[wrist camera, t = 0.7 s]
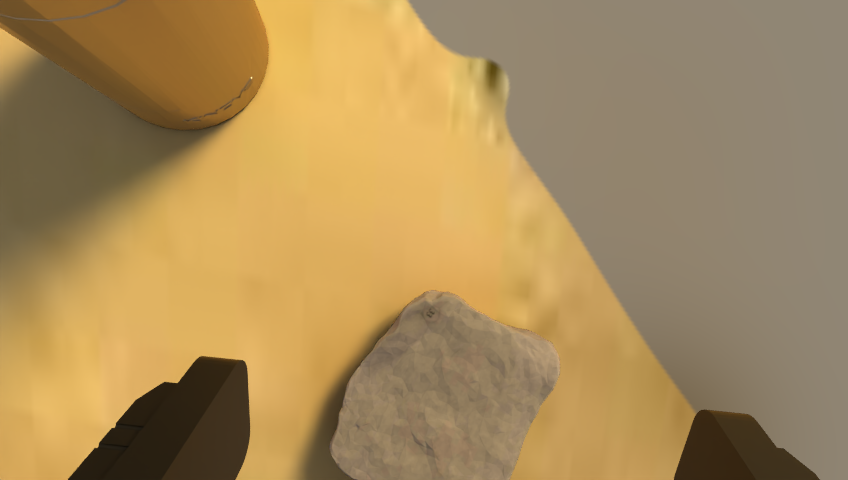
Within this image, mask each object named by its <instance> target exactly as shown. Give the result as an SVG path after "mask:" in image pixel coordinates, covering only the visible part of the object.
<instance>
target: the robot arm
mask: <svg viewBox="0 0 848 480" xmlns="http://www.w3.org/2000/svg"><path fill="white" fill-rule="evenodd" d="M0 28H1V29H3V30H5V31H6V32H8V33H9V34H11V35H12V36H14V37H15V38H17V39H19V40H20V41H22V42H23V43H25V44H26V45H28V46H29V47H31V48H33V49H34V50H36V51H37V52H39V53H40V54H42V55H43V56H45V57H47V58H48V59H50V60H51V61H53V62H54V63H56V64H57V65H59V66H60V67H62V68H64V69H65V70H67V71H68V72H70V73H71V74H73V75H74V76H76V77H78V78H79V79H81V80H82V81H84V82H85V83H87V84H88V85H90V86H92V87H93V88H95V89H96V90H98V91H99V92H101V93H102V94H104V95H105V96H107V97H108V98H110V99H111V100H113V101H114V102H116V103H118V104H119V105H121V106H122V107H124V108H126V109H127V110H129V111H130V112H132V113H134V114H135V115H137V116H139V117H140V118H142V119H143V120H145V121H147V122H150V123H153V124H156V125H158V126H161V127H164V128H171V129H178V130H191V129H202V128H206V127H210V126H213V125H217V124H219V123H221V122H223V121H225V120H227V119H229V118H231V117H233V116H234V115H236V114H237V113H238V112H239V111H241V110H242V109H243V108H244V107H246V106H247V104H248V103H249V102H250V101H251V99H252V98H253V97H254V96H255V94H256V93H257V91H258V89H259V87H260V85H261V83H262V81H263V79H264V77H265V73H266V69H267V64H268V40H267V35H266V30H265V27H264V24H263V21H262V19H261V16H260V14H259V11H258V9H257V6H256V3H255V1H254V0H0ZM249 437H250V416H249V394H248V373H247V366H246V363H245V362H244V361H243V360H234V359H225V358H215V357H206V356H201V357H199V358H198V359H197V360H196V361H195V362H194V363H193V364H192V366H191V367H190V368H189V369H188V371H187V372H186V373H185V375H184V376H183V377H182V378H181V380H180V381H179V382H178V383H169V382H163V383H162V384H160V385H159V386H157V387H156V388H154V389H152V390H151V391H149V392H148V393H146V394H145V395H143V396H142V397H140V398H138V399H137V400H136V401H135V402H134V403H133V404H132V405H131V406H130V408H129V409H128V410H127V411H126V412H125V413H124V415H123V416H122V417H121V418H120V419H119V420H118V422H117V423H116V426H115V428H112V429H111V430H110V431H109V432H108V433H107V434H106V436H105V437H104V438H103V439H102V440H101V441H100V443H99V447H98V448H94V450H93V451H92V452H91V453H90V454H89V455H88V457H87V458H86V459H85V460H84V461H83V462H82V464H81V465H80V466H79V467H78V468H77V469H76V471H75V472H74V473H73V474H72V475H71V476H70V478H69V479H68V480H235V479H236V477H237V475H238V473H239V471H240V469H241V467H242V465H243V462H244V459H245V456H246V453H247V449H248V444H249ZM674 480H820V479H819V478H818V477H817V476H816V474H815V473H813V472H812V471H811V470H810V469H808V468H807V467H806V466H805V465H803V464H802V463H801V462H800V461H798V460H797V459H796V458H795V457H793V456H792V455H791V454H789V453H788V452H787V451H786V450H785V449H783V448H777V447H776V446H775V445H774V443H773V442H772V441H771V439H770V438H769V437H768V435H767V434H766V433H765V431H764V430H763V429H762V428H761V426H760V425H759V424H758V422H757V421H756V420H755V419H754V418H753V417H752V416H750V415H748V414H741V413H732V412H722V411H712V410H701V411H699V412H698V413H697V414H696V416H695V418H694V420H693V423H692V426H691V429H690V432H689V435H688V438H687V441H686V444H685V447H684V450H683V452H682V455H681V458H680V461H679V464H678V467H677V470H676V473H675V477H674Z"/></svg>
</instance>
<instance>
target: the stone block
mask: <svg viewBox="0 0 848 480" xmlns="http://www.w3.org/2000/svg"><path fill="white" fill-rule="evenodd" d="M559 375H560V358H559V356H558V353H557V351H556V349H555V347H554V345H553V344H552V343H551V342H549V341H548V340H546V339H544V338H543V337H541V336H539V335H538V334H536V333H534V332H532V331H529V330H525V329H518V328H515V327H510V326H508V325H504V324H502V323H500V322H498V321H496V320H493V319H491V318H490V317H488V316H487V315H485V314H484V313H481V312H479V311H477V310H475V309H474V308H472V307H471V306H469V305H468V304H467V303H466V302H465V301H464V300H463V299H461V298H460V297H459V296H457V295H455V294H452V293H450V292H439V291H435V290H431V291H427V292H424V293H423V294H422V295H420V296H419V297H417V298H415V299H414V300H412V301H411V302H410V303H409V304H408V305H407V306H406V307H405V308H404V309H403V311H402V312H401V313H400V315H399V316H398V318H397V320H396V321H395V323H394V324H393V325H392V326H391V328H390V329H389V330H388V331H387V333H386V334H385V335H384V336H383V337H381V338H380V339H379V340H378V342H377V343H376V345H375V346H374V348H373V350H372V351H371V352H370V353H369V354H368V355H367V356H366V358H365V359H364V360H363V361H362V363H361V364H360V366H359V367H358V368H357V370H356V371H355V372H354V374H353V375H352V376H351V378H350V380H349V381H348V383H347V387H346V393H345V396H344V399H343V406H342V408H341V410H340V412H339V415H338V425H337V428H336V431H335V433H334V435H333V437H332V439H331V442H330V445H329V450H330V453H331V455H332V457H333V459H334V461H335V463H336V464H337V466H338V468H340V469H341V470H342V471H343V472H344V473H345V474H346V475H347V476H349V477H351V478H352V479H354V480H510V477H511V475H512V472H513V470H514V467H515V465H516V462H517V460H518V457H519V454H520V451H521V448H522V445H523V442H524V439H525V437H526V434H527V432H528V430H529V427H530V425H531V423H532V421H533V420H534V418H535V417H536V415H537V413H538V411H539V408H540V406H541V404H542V403H543V402H544V401H545V399H546V398H547V397H548V395H549V394H550V393H551V392H552V390H553V389H554V386H555V384H556V382H557V380H558V377H559Z"/></svg>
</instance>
